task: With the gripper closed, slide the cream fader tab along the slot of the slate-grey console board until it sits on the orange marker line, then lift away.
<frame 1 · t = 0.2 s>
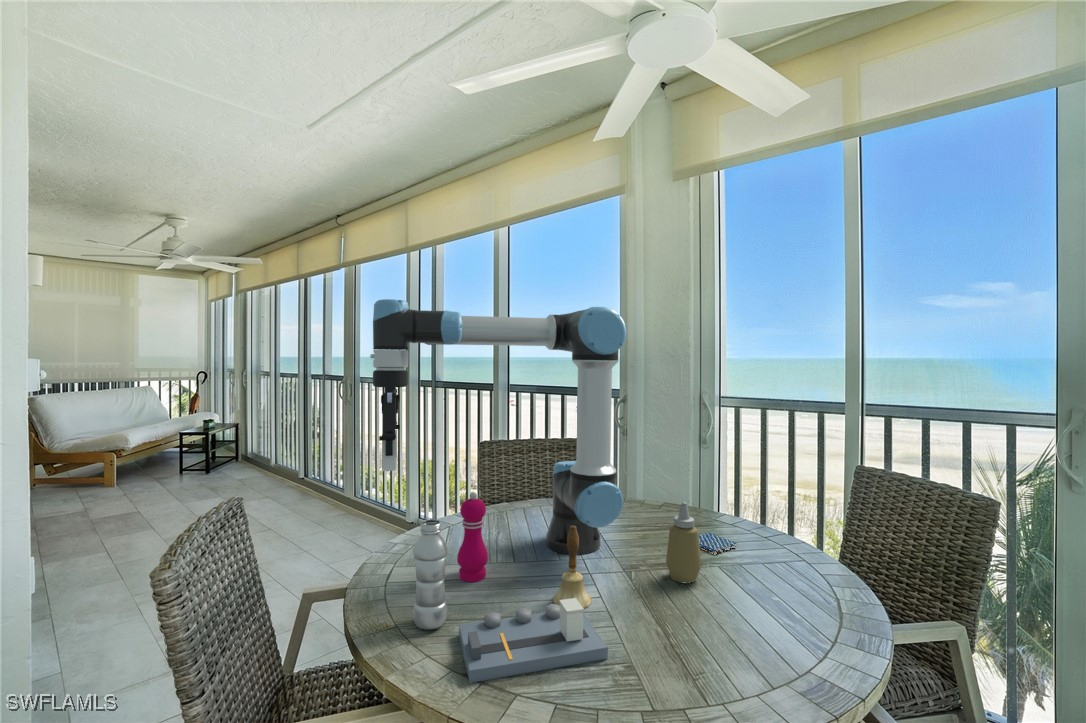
hand: (390, 463, 111), 28 cm above the table, tool pointing down, fingers open, 13 cm apart
squeeze bottle: (683, 579, 118), on the table
pepper mill: (472, 577, 118), on the table
console board: (530, 646, 89), on the table
fader tab: (571, 619, 89), point 5 cm above the table, slide at 0.0 cm
plastic bottle: (430, 626, 96), on the table
hand bell: (572, 601, 107), on the table
woven mat: (711, 548, 138), on the table
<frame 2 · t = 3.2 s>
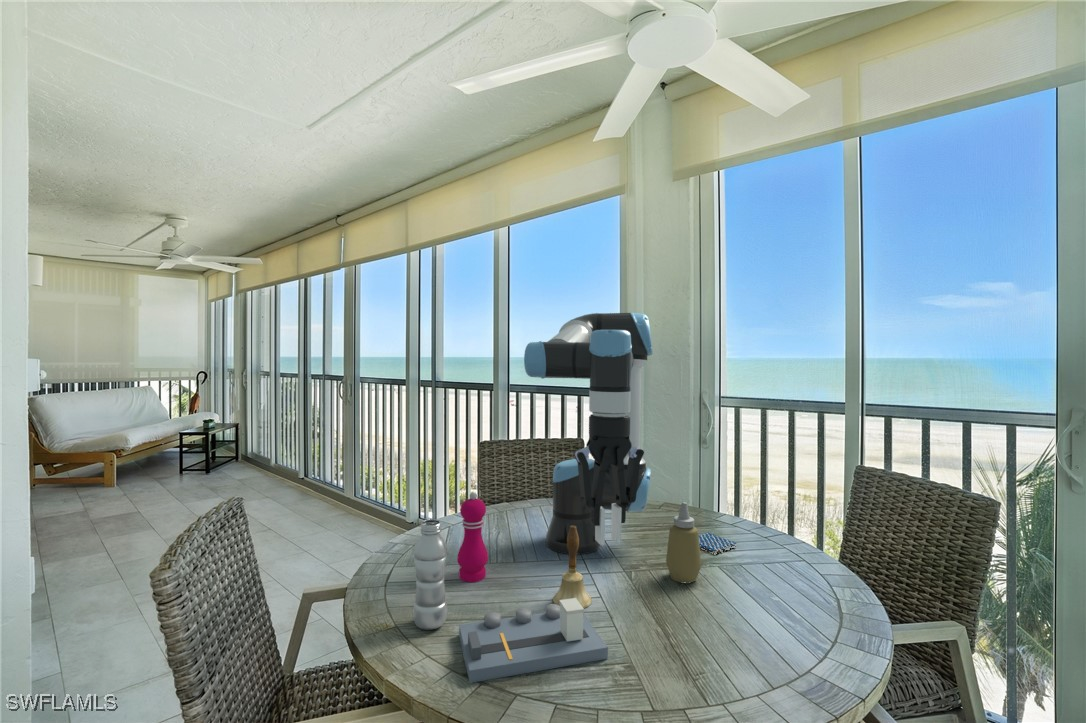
hand: (607, 541, 91), 19 cm above the table, tool pointing down, fingers open, 3 cm apart
nothing on the table moved.
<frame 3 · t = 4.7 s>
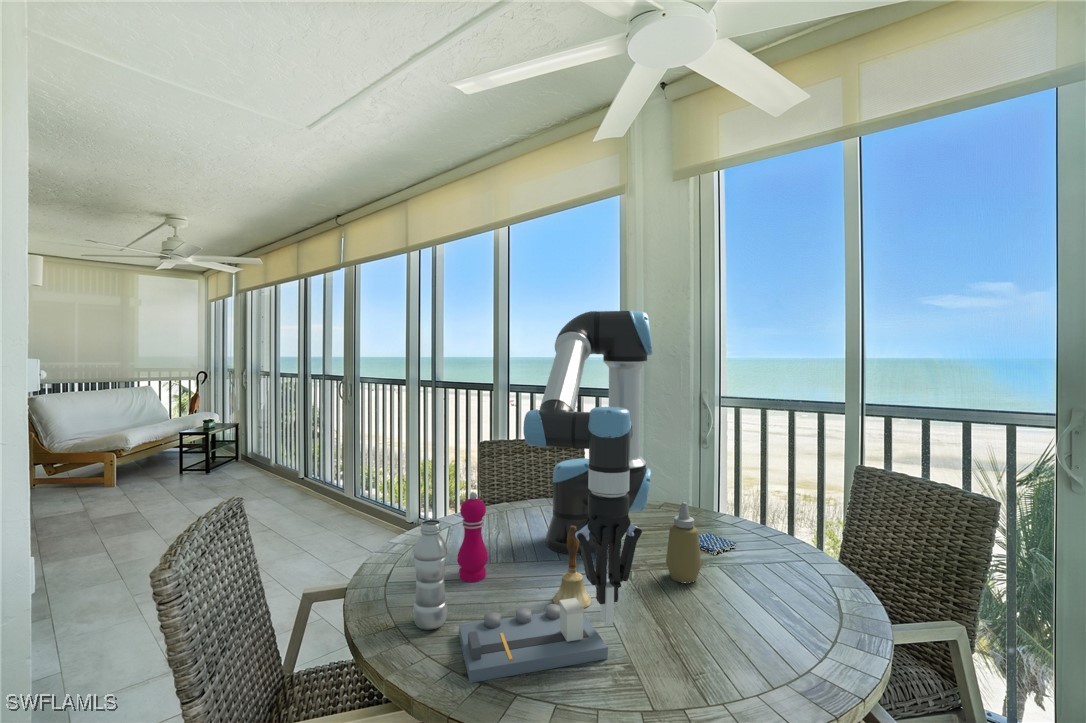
hand: (606, 619, 91), 4 cm above the table, tool pointing down, fingers closed
nothing on the table moved.
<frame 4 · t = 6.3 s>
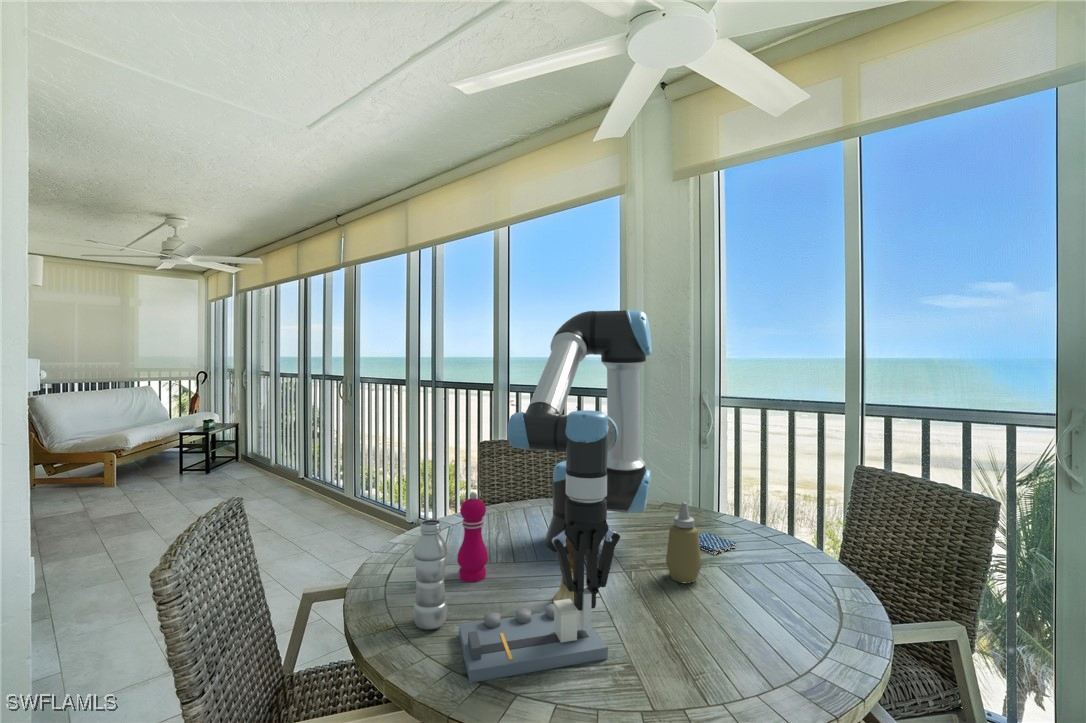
hand: (584, 625, 90), 3 cm above the table, tool pointing down, fingers closed
fader tab: (565, 620, 89), point 5 cm above the table, slide at 1.1 cm, touching gripper
everything else where it was.
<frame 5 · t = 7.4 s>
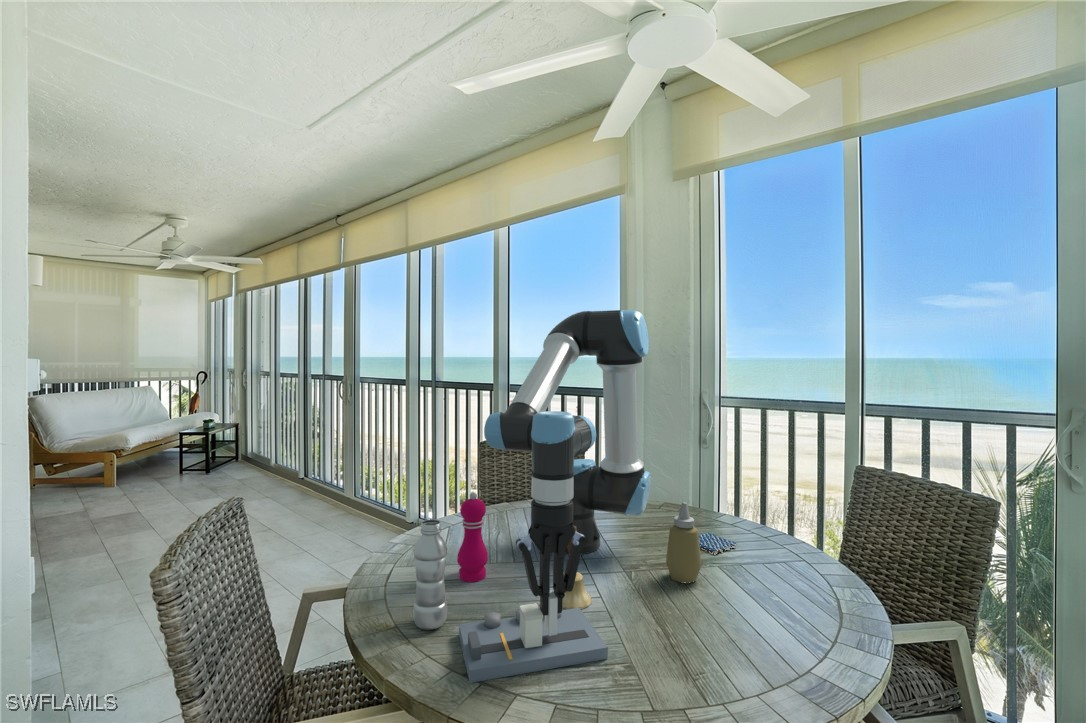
hand: (550, 631, 88), 3 cm above the table, tool pointing down, fingers closed
fader tab: (530, 625, 87), point 5 cm above the table, slide at 7.6 cm, touching gripper
everything else where it was.
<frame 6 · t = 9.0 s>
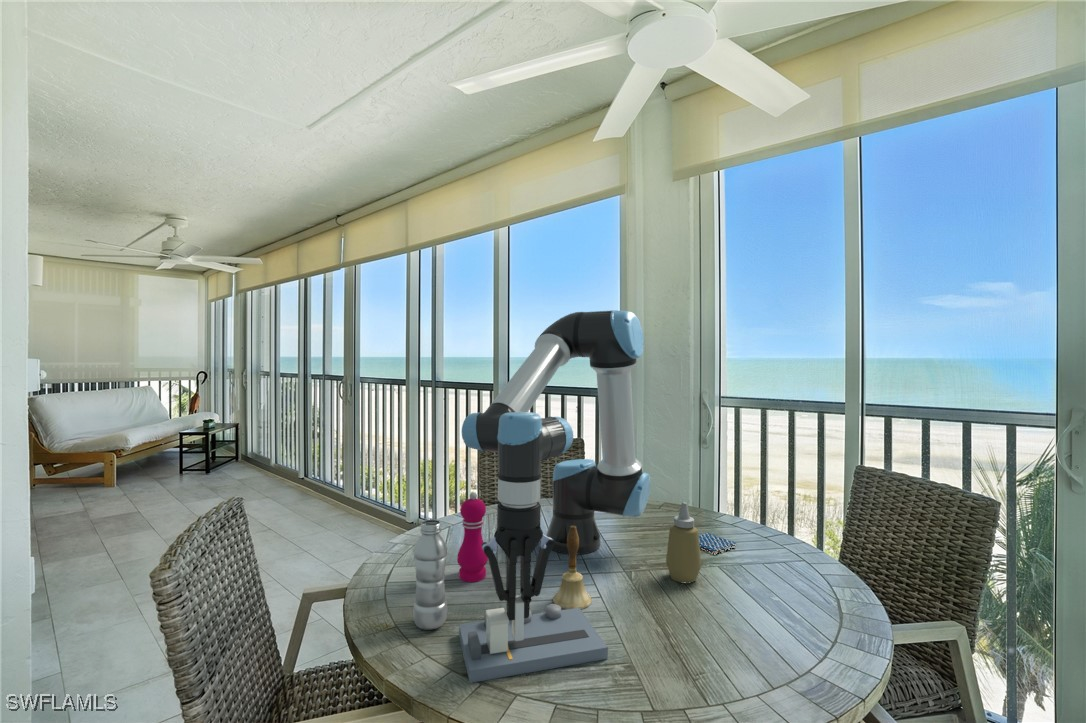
hand: (517, 636, 87), 3 cm above the table, tool pointing down, fingers closed
fader tab: (496, 630, 86), point 5 cm above the table, slide at 13.6 cm, touching gripper
everything else where it was.
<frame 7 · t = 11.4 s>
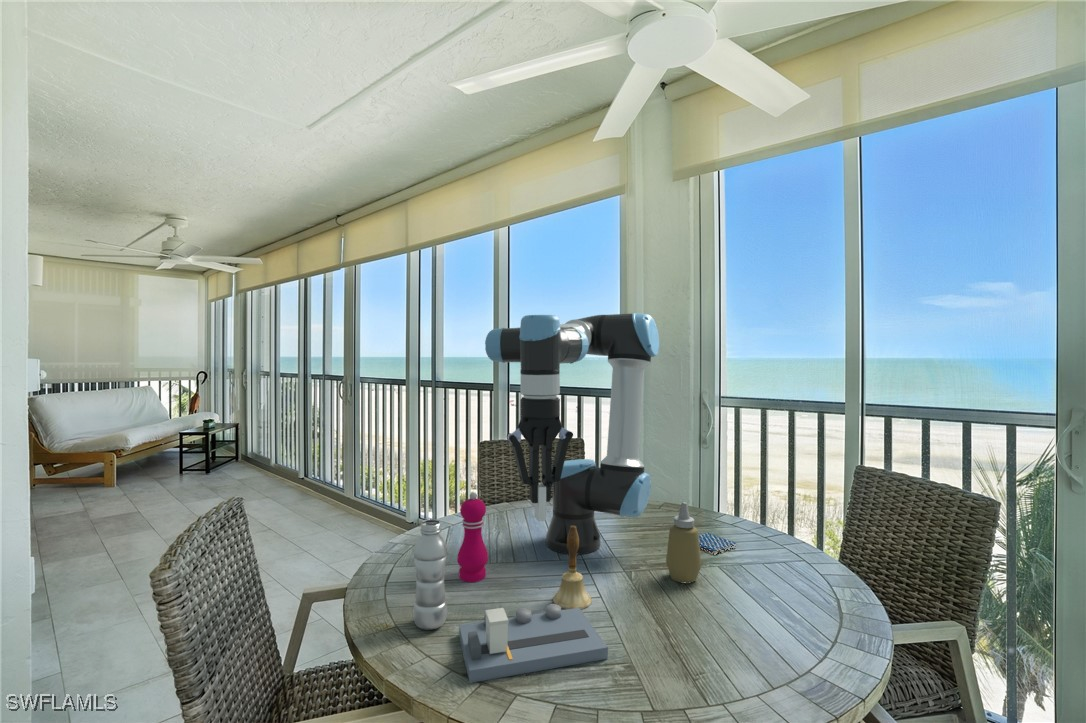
hand: (540, 518, 95), 21 cm above the table, tool pointing down, fingers closed
fader tab: (496, 630, 86), point 5 cm above the table, slide at 13.7 cm
everything else where it was.
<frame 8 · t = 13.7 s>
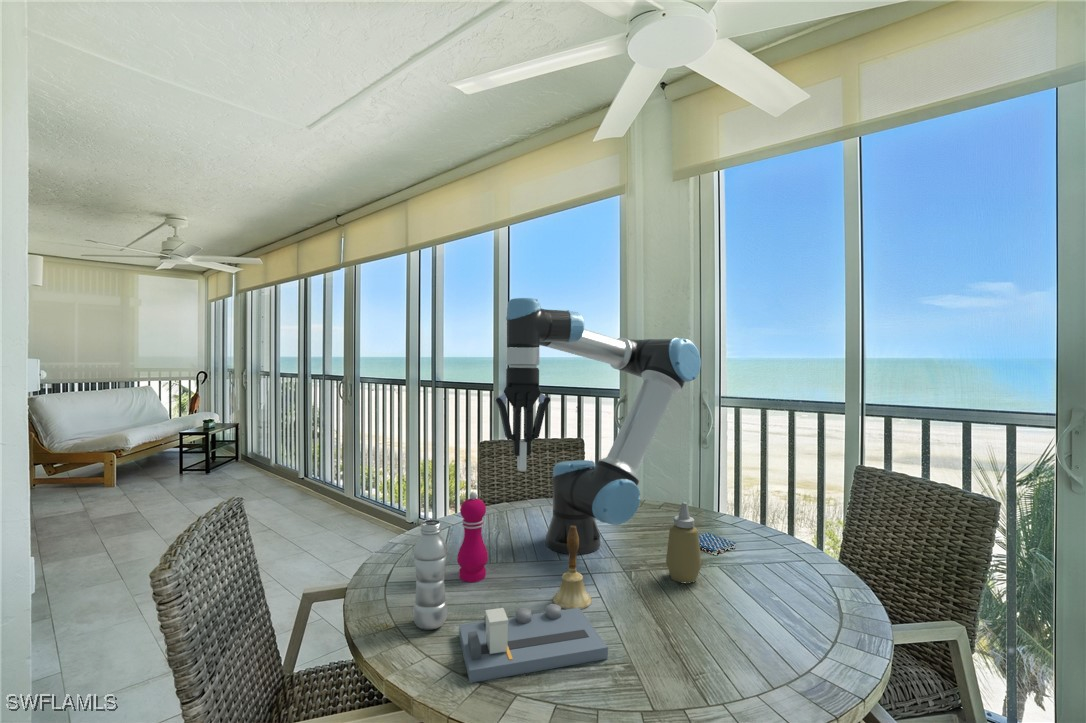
hand: (521, 469, 113), 26 cm above the table, tool pointing down, fingers closed
nothing on the table moved.
at the end: fader tab slide at 13.7 cm; the gripper is holding nothing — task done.
